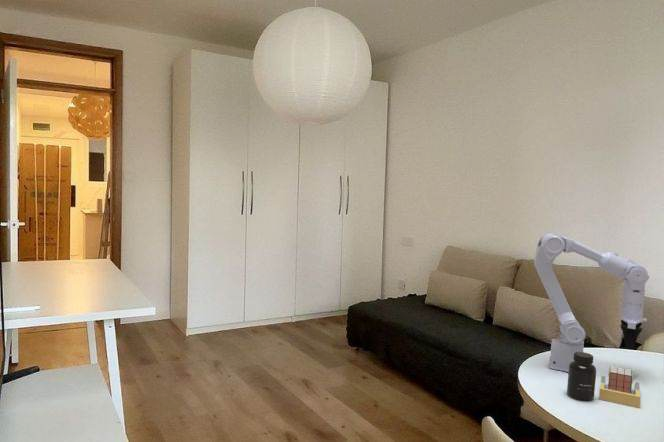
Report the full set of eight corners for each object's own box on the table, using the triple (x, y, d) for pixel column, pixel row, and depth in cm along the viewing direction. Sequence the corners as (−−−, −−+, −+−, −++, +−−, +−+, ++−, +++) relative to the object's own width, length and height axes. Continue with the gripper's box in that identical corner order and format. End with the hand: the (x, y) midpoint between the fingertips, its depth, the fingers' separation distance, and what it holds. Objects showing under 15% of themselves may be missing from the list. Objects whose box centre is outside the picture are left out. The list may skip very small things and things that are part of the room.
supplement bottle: (583, 403, 133) (586, 360, 132) (561, 393, 139) (564, 352, 138) (599, 399, 136) (602, 356, 136) (577, 389, 142) (580, 349, 142)
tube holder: (599, 399, 136) (599, 388, 136) (601, 383, 147) (601, 373, 147) (639, 408, 131) (640, 397, 131) (638, 391, 142) (639, 381, 142)
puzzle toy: (630, 388, 144) (632, 369, 144) (631, 395, 139) (632, 376, 139) (608, 384, 147) (609, 365, 147) (607, 391, 142) (609, 371, 142)
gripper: (649, 309, 144) (645, 355, 145) (647, 300, 156) (644, 342, 158) (621, 306, 148) (617, 350, 149) (621, 297, 160) (618, 338, 161)
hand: (629, 346), depth 153 cm, fingers open, 4 cm apart
